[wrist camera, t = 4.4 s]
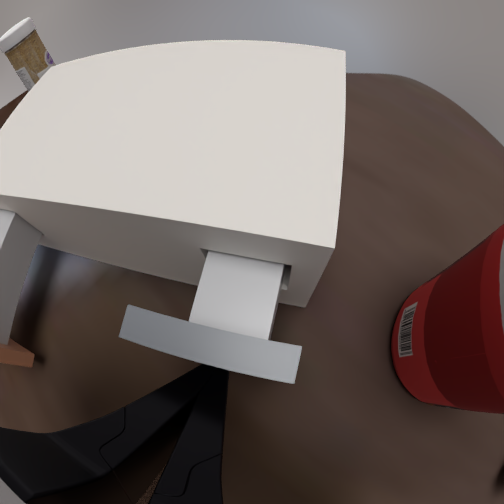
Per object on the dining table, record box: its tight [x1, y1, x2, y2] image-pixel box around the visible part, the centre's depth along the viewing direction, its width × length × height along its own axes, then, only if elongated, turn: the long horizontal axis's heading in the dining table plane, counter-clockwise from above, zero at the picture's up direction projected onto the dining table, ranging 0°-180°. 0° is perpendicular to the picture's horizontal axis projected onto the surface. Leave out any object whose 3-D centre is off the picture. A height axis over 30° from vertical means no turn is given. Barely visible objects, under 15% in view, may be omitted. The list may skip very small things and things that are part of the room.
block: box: [0, 40, 346, 308], centre depth 17 cm, size 12×22×9 cm, turn 77°
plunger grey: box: [119, 250, 302, 384], centre depth 14 cm, size 14×5×8 cm, turn 167°
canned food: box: [391, 224, 504, 414], centre depth 10 cm, size 8×8×11 cm
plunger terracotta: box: [0, 209, 42, 367], centre depth 14 cm, size 14×5×8 cm, turn 167°
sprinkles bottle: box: [0, 17, 55, 91], centre depth 22 cm, size 5×4×13 cm
